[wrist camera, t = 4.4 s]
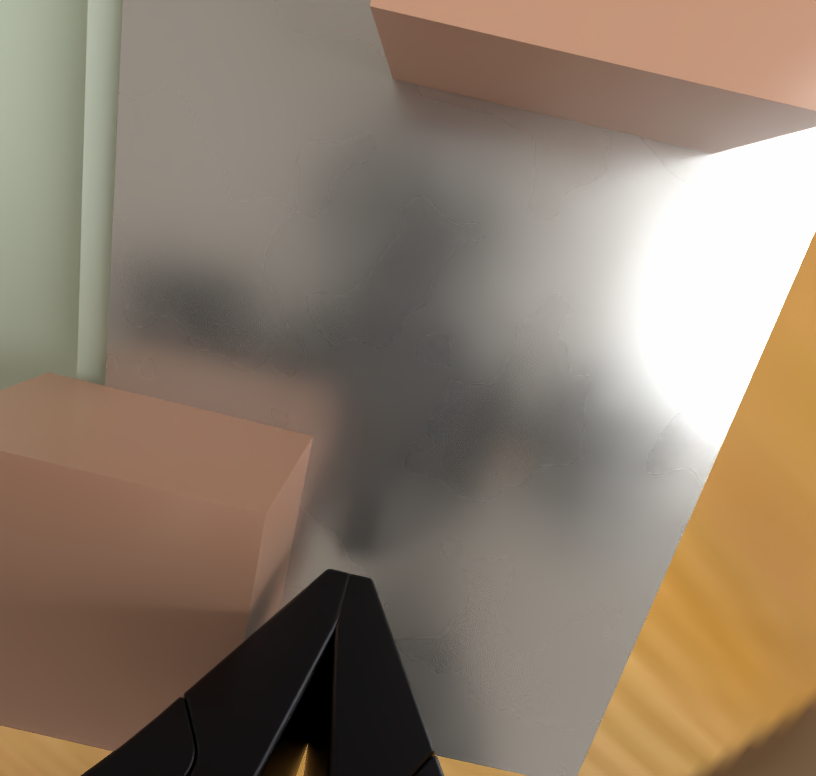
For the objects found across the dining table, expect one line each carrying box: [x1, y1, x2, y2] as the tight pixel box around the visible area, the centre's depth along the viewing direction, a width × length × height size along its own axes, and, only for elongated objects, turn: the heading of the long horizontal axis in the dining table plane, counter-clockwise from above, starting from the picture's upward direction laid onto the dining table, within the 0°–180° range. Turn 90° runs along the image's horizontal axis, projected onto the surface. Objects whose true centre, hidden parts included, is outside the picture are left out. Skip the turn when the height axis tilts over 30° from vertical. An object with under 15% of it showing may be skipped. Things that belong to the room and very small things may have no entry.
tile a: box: [0, 372, 313, 751], centre depth 8 cm, size 4×4×2 cm
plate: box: [105, 0, 816, 776], centre depth 9 cm, size 18×10×2 cm, turn 168°
